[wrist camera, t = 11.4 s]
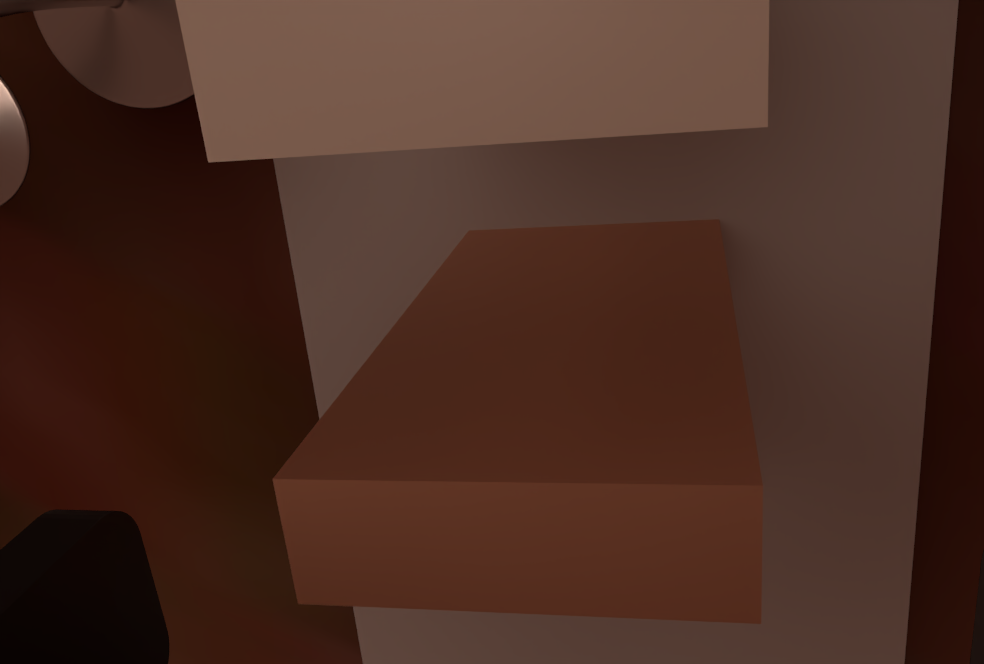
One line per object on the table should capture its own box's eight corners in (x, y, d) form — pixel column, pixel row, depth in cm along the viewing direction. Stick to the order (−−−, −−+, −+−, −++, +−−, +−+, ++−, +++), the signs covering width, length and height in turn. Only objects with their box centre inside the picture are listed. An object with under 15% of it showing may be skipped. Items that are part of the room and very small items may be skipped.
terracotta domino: (719, 219, 18) (763, 486, 9) (719, 297, 18) (761, 623, 9) (468, 230, 19) (272, 479, 10) (476, 304, 19) (298, 603, 10)
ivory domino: (717, -58, 16) (769, -88, 7) (718, 38, 17) (767, 127, 7) (441, -29, 17) (170, -22, 8) (450, 60, 18) (208, 163, 9)
